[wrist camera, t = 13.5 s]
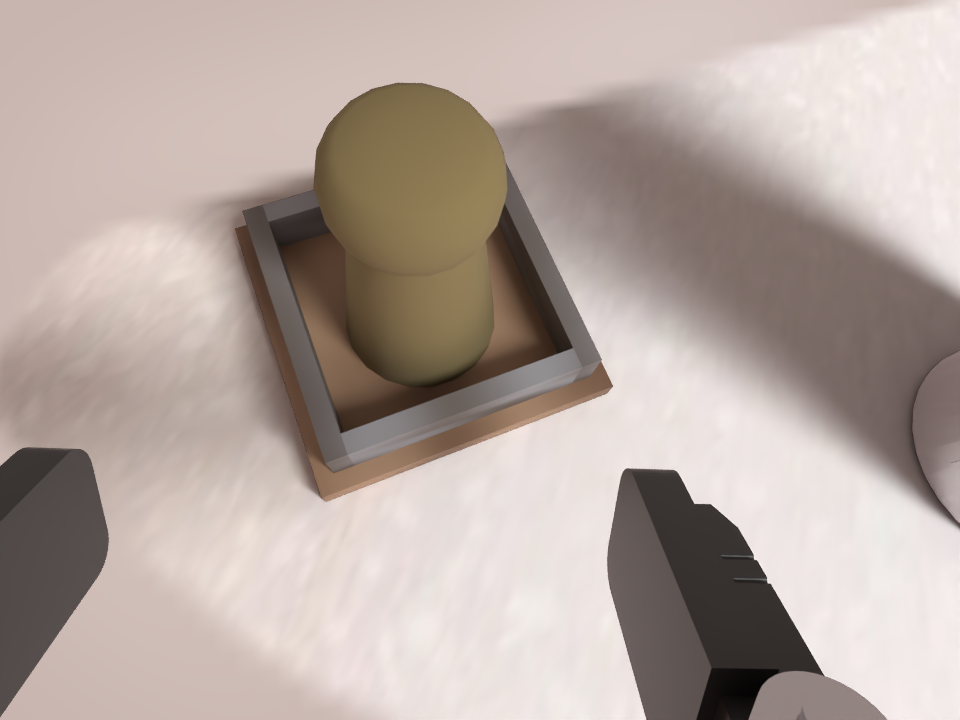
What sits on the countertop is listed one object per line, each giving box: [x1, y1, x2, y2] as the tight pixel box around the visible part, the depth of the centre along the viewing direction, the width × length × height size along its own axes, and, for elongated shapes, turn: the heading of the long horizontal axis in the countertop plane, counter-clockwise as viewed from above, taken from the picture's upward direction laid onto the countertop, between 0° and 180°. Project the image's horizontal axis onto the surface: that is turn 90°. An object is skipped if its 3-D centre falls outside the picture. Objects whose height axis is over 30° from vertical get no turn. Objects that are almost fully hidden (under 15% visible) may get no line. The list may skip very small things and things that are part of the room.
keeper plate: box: [235, 164, 613, 502], centre depth 26 cm, size 12×12×3 cm
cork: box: [314, 83, 507, 387], centre depth 21 cm, size 6×6×11 cm
